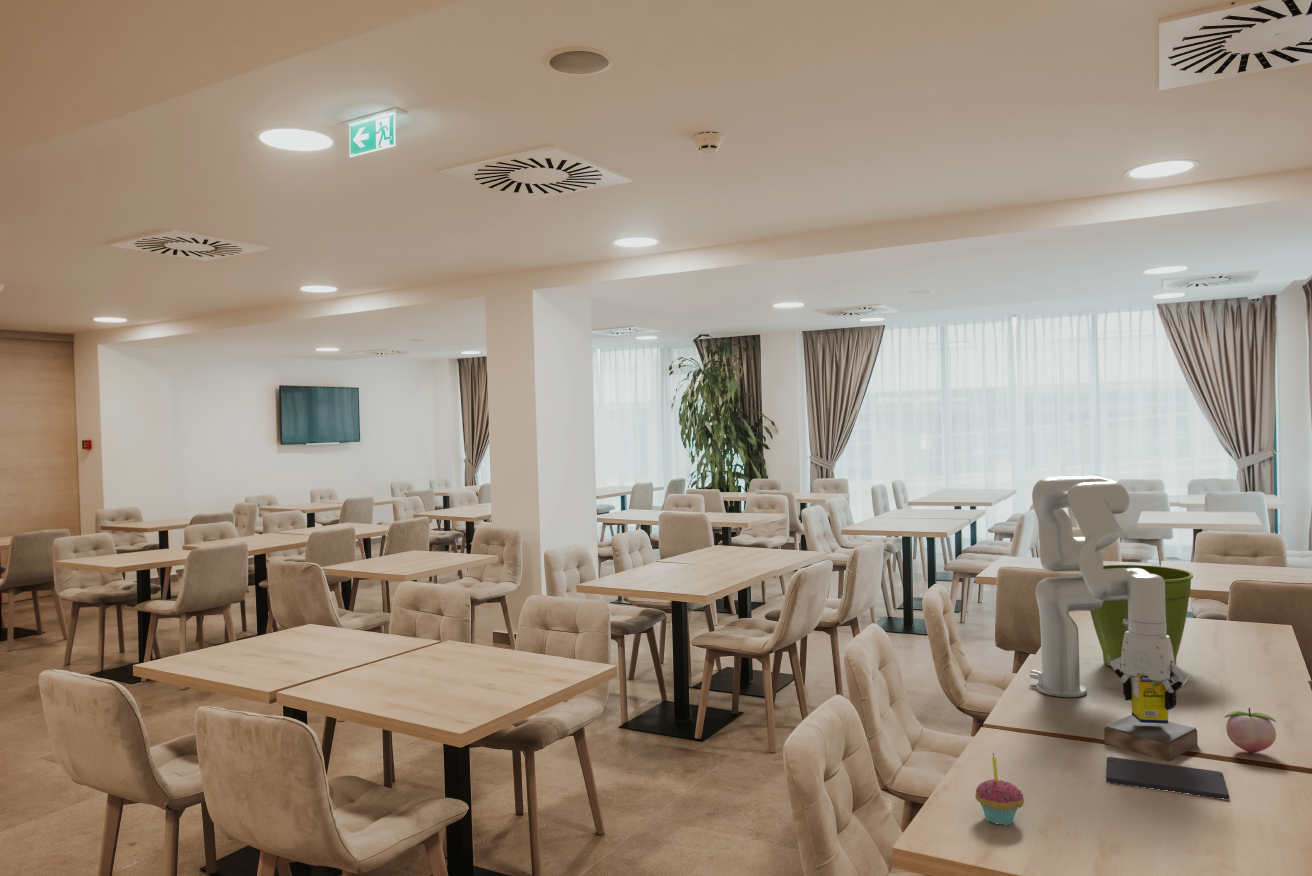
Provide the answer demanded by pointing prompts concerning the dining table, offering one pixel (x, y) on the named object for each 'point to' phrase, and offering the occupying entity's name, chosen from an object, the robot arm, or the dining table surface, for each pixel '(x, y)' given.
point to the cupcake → (999, 798)
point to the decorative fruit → (1250, 730)
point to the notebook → (1166, 777)
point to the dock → (1151, 737)
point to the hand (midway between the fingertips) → (1149, 703)
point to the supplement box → (1148, 700)
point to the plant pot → (1116, 611)
